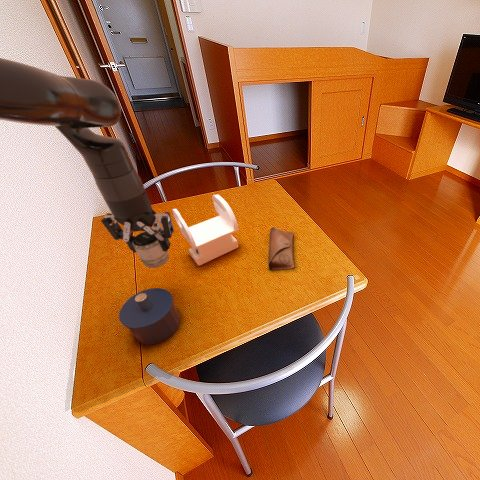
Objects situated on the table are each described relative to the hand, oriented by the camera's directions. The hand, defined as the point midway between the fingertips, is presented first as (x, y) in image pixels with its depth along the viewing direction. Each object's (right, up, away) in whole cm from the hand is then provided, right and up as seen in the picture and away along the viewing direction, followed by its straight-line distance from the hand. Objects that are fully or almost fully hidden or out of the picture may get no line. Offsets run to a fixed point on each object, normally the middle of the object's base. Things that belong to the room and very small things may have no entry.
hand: (152, 249), depth 68 cm
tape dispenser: (+6, -1, +23) cm, 24 cm away
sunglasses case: (+29, -1, +25) cm, 38 cm away
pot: (+1, -19, +2) cm, 19 cm away
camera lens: (0, -3, +2) cm, 4 cm away
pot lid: (+1, -14, -3) cm, 14 cm away
